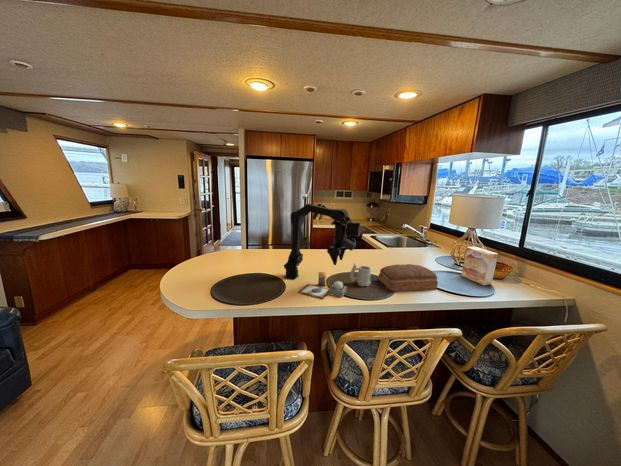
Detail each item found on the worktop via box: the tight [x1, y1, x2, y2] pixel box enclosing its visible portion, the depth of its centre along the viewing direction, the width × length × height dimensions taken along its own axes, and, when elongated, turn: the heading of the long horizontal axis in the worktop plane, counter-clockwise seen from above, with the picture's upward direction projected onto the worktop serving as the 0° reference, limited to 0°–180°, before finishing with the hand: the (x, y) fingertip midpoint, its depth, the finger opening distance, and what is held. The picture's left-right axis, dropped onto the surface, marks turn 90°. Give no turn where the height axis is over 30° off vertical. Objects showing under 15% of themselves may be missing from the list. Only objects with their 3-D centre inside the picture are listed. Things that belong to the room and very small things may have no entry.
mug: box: [349, 263, 372, 287], centre depth 137 cm, size 8×12×12 cm, turn 87°
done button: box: [333, 280, 344, 290], centre depth 125 cm, size 4×4×4 cm
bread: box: [378, 263, 439, 292], centre depth 139 cm, size 17×29×11 cm, turn 100°
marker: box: [317, 271, 327, 288], centre depth 133 cm, size 4×4×7 cm
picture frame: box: [297, 283, 329, 300], centre depth 126 cm, size 14×11×1 cm
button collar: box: [328, 283, 348, 298], centre depth 126 cm, size 7×7×3 cm
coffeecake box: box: [460, 246, 499, 286], centre depth 148 cm, size 15×7×20 cm, turn 18°
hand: (338, 262), depth 128 cm, fingers open, 9 cm apart
